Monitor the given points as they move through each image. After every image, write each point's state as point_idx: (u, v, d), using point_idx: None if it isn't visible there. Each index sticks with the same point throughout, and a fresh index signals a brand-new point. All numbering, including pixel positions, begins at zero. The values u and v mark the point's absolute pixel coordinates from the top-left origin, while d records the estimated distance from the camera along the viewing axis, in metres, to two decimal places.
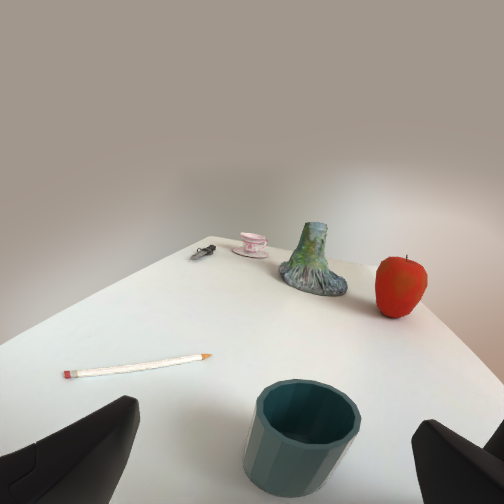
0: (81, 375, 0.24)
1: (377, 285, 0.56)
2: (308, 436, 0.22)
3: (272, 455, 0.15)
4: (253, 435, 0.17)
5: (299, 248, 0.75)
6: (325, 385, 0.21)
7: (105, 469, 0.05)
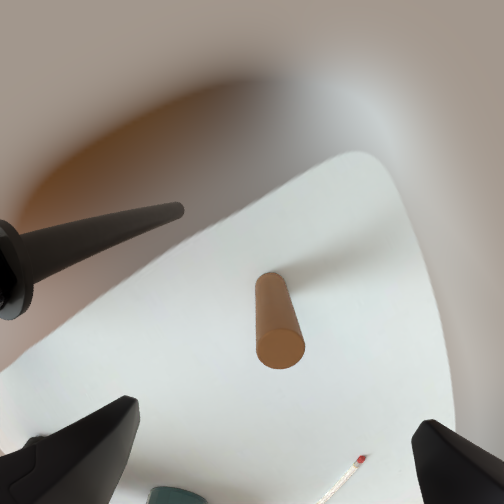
0: (351, 467, 0.23)
1: None
2: None
3: None
4: None
5: None
6: None
7: (105, 469, 0.05)
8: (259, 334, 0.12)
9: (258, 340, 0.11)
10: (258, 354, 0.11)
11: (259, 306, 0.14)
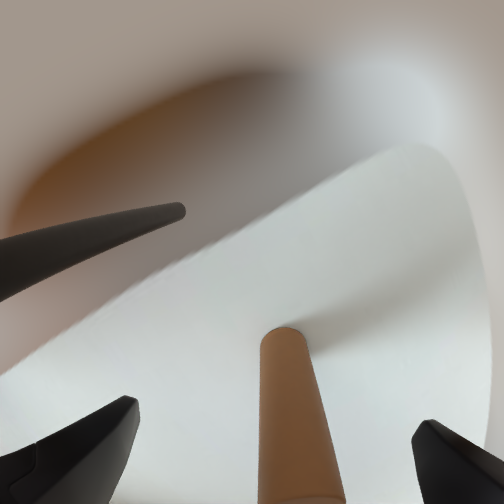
0: None
1: None
2: None
3: None
4: None
5: None
6: None
7: (105, 469, 0.05)
8: (264, 490, 0.05)
9: (262, 503, 0.04)
10: None
11: (266, 410, 0.07)
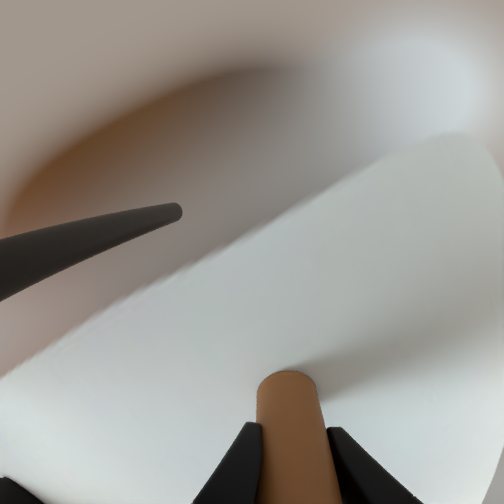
0: None
1: None
2: None
3: None
4: None
5: None
6: None
7: None
8: None
9: None
10: None
11: (262, 501, 0.04)
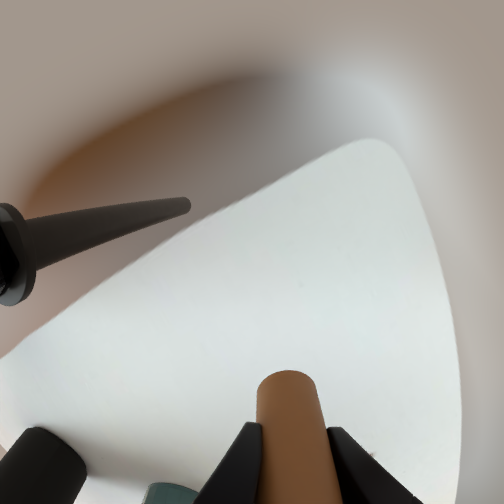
0: None
1: None
2: None
3: None
4: None
5: None
6: None
7: None
8: None
9: None
10: None
11: (262, 500, 0.04)
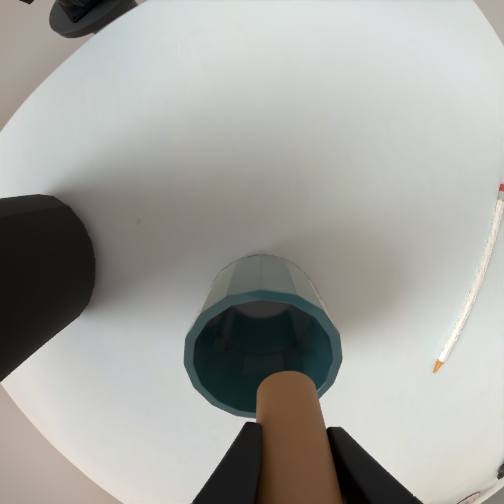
0: (497, 204, 0.18)
1: None
2: (262, 355, 0.20)
3: (266, 276, 0.14)
4: (309, 290, 0.15)
5: None
6: None
7: None
8: None
9: None
10: None
11: (262, 501, 0.04)
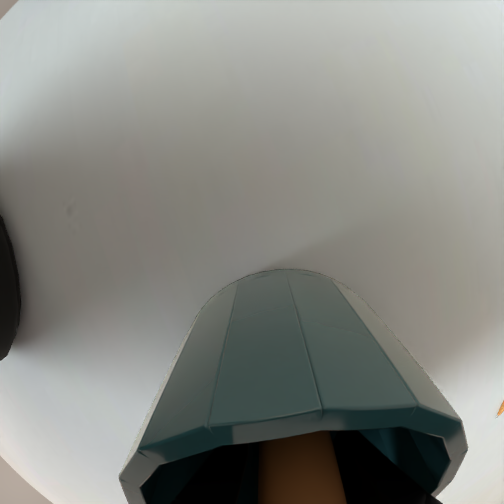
0: None
1: None
2: None
3: (319, 338, 0.05)
4: (409, 359, 0.05)
5: None
6: None
7: None
8: None
9: None
10: None
11: (266, 457, 0.06)
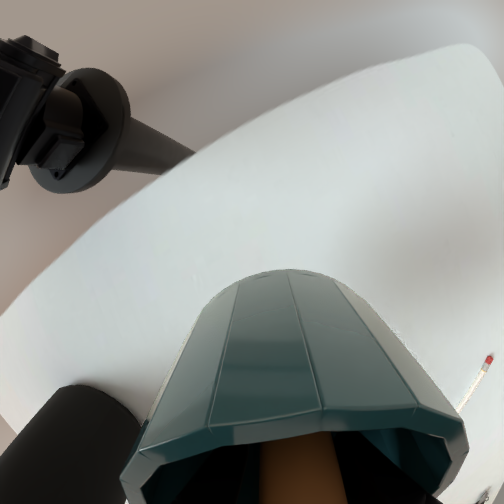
0: (479, 373, 0.20)
1: None
2: None
3: (320, 338, 0.05)
4: (410, 359, 0.05)
5: None
6: None
7: None
8: None
9: None
10: None
11: (267, 457, 0.06)
